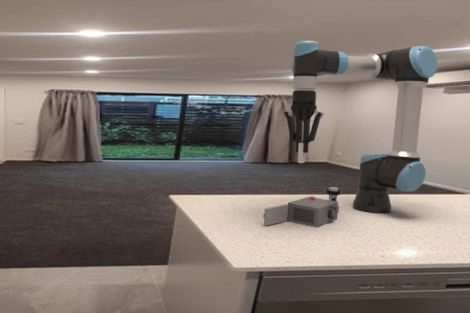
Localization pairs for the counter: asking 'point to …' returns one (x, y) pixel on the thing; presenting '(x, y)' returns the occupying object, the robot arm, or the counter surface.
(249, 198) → the counter surface
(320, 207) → the housing
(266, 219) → the door
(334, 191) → the push button
